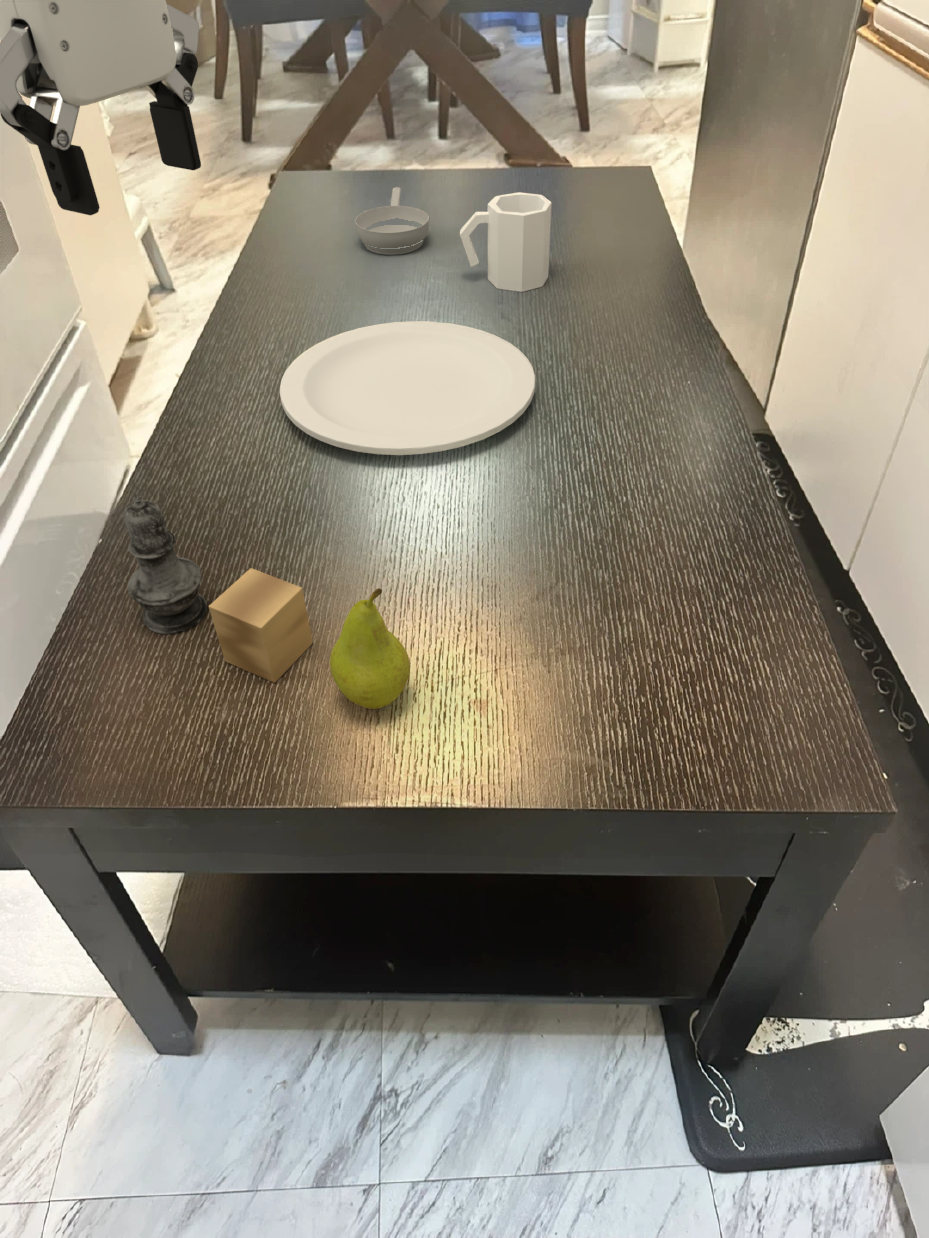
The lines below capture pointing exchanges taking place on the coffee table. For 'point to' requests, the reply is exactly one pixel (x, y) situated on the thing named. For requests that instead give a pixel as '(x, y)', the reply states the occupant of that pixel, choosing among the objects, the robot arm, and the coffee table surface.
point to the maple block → (262, 624)
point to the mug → (514, 240)
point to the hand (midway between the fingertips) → (133, 188)
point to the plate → (407, 388)
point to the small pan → (392, 227)
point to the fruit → (369, 658)
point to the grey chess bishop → (161, 572)
